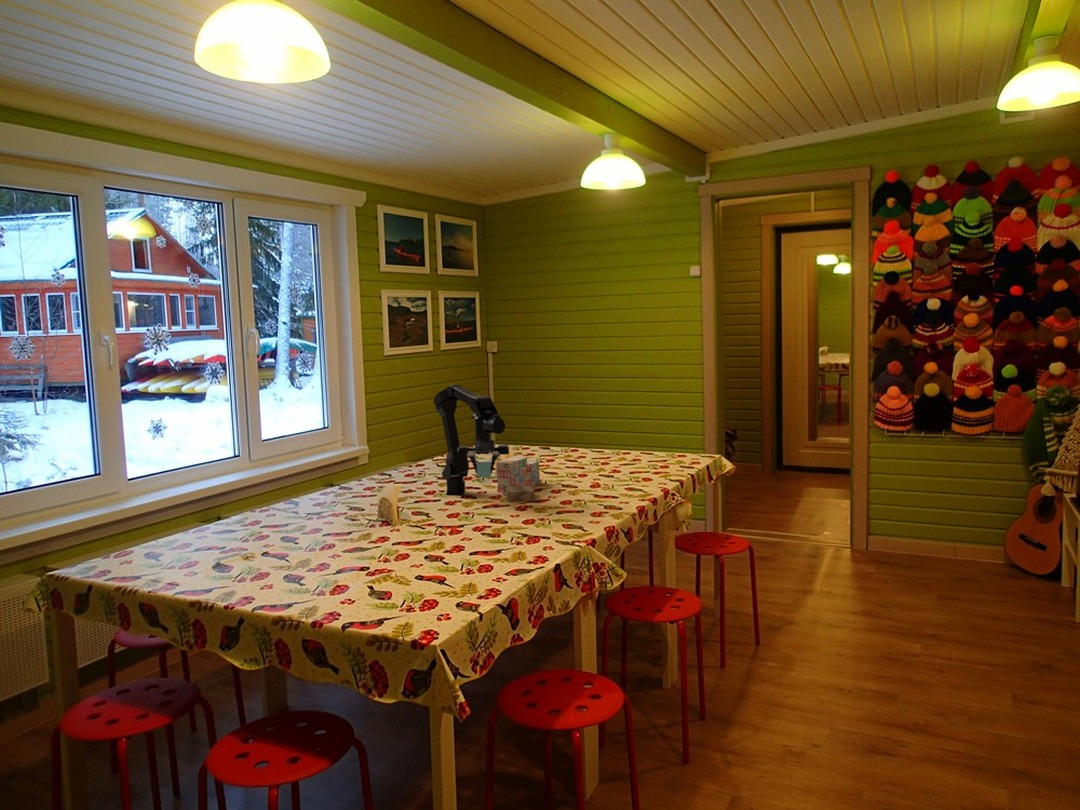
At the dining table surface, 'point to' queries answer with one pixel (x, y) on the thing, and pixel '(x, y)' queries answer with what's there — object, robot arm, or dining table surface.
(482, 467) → the teal cube
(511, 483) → the stack of blocks
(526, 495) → the walnut block
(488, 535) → the dining table surface
